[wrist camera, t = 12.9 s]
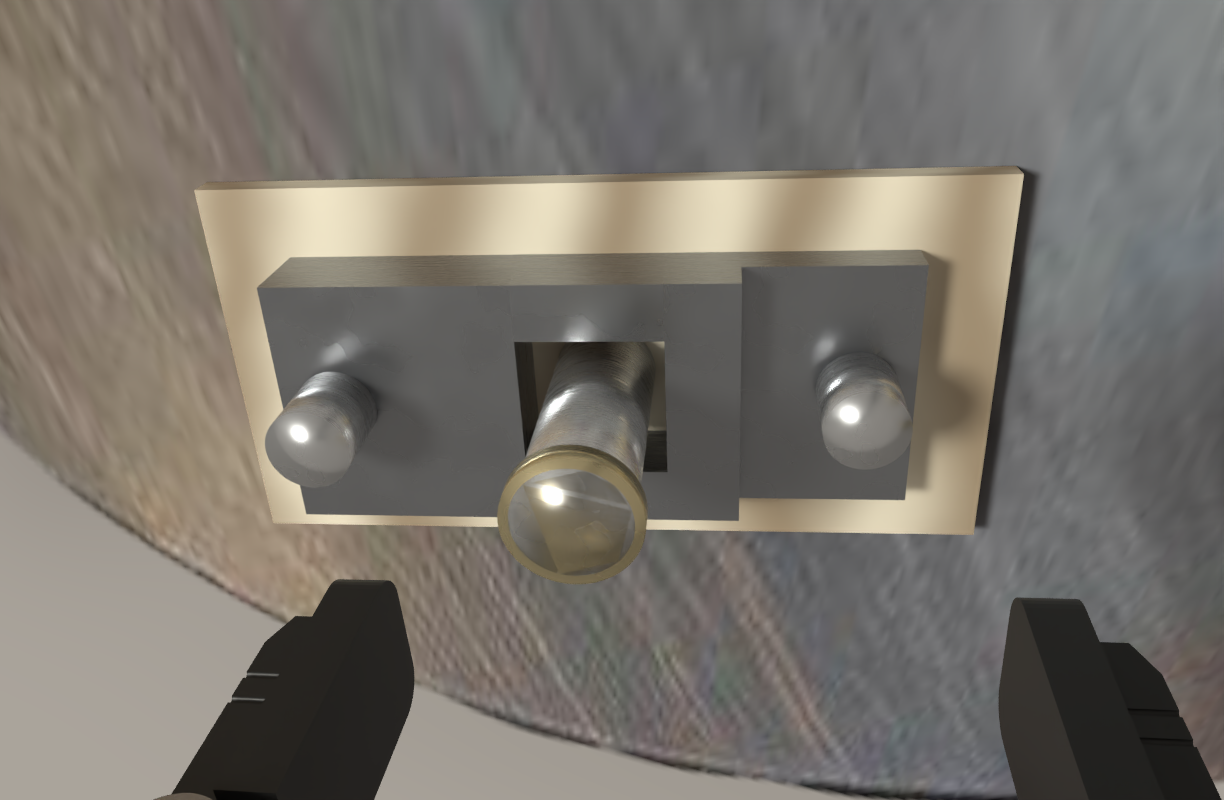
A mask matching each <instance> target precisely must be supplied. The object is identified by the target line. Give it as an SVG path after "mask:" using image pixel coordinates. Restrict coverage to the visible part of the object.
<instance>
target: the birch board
mask: <svg viewBox="0 0 1224 800" xmlns="http://www.w3.org/2000/svg"><path fill="white" fill-rule="evenodd" d="M1023 178H1024V174H1023V173H1022V172H1021V171H1020V169H1019V168H1018V167H1017V166H993V167H944V168H894V169H845V170H796V171H747V172H697V173H648V174H599V175H550V176H500V177H451V178H402V179H353V180H303V181H254V182H207V183H205V184H204V185H202V186H200V187H199V188H197V189H196V190H194V191H195V195H196V200H197V204H198V208H199V212H200V216H201V221H202V225H203V229H204V233H205V237H206V242H207V246H208V250H209V254H210V259H211V263H212V267H213V271H214V275H215V280H216V284H217V288H218V292H219V296H220V301H221V305H222V309H223V313H224V317H225V322H226V326H227V330H228V334H229V338H230V343H231V347H232V351H233V355H234V359H235V364H236V368H237V372H238V376H239V380H240V385H241V389H242V393H243V397H244V401H245V406H246V410H247V414H248V418H249V422H250V427H251V431H252V435H253V439H254V443H255V448H256V452H257V456H258V460H259V464H260V469H261V473H262V477H263V481H264V486H265V490H266V494H267V498H268V502H269V507H270V511H271V515H272V519H273V523H295V524H356V525H417V526H477V527H498V523H497V517H449V516H385V515H320V514H306V511H305V506H304V502H303V497H302V493H301V488H300V485H298V484H296V483H293V482H291V481H289V480H288V479H286V478H285V477H283V476H282V475H281V474H280V473H279V472H278V471H277V470H276V469H275V468H274V467H273V465H272V464H271V462H270V461H269V459H268V456H267V453H266V450H265V436H266V433H267V431H268V429H269V427H270V426H271V424H272V423H273V422H274V421H275V419H276V418H277V417H278V416H279V414H280V413H281V412H282V411H283V406H282V401H281V397H280V392H279V388H278V383H277V378H276V374H275V369H274V365H273V360H272V356H271V351H270V347H269V342H268V337H267V333H266V328H265V324H264V319H263V315H262V310H261V305H260V301H259V296H258V292H257V287H258V286H259V285H260V284H261V283H262V282H264V281H265V280H266V279H267V278H268V277H269V276H270V275H271V274H272V273H273V272H275V271H276V270H277V269H278V268H279V267H280V266H281V265H282V264H283V263H284V262H286V261H287V260H288V259H289V258H290V257H352V256H435V255H518V254H600V253H683V252H766V251H849V250H921V251H922V253H923V255H924V257H925V259H926V261H927V262H928V264H929V268H928V278H927V288H926V298H925V308H924V318H923V328H922V337H921V347H920V357H919V367H918V377H917V387H916V397H915V406H914V416H913V433H912V438H911V446H910V456H909V466H908V475H907V485H906V495H905V500H853V499H777V498H739V521H707V520H647V525H646V529H659V530H719V531H780V532H840V533H901V534H961V535H973V534H974V527H975V519H976V512H977V505H978V498H979V491H980V484H981V477H982V470H983V463H984V455H985V448H986V441H987V434H988V427H989V420H990V413H991V406H992V398H993V391H994V384H995V377H996V370H997V363H998V356H999V349H1000V341H1001V334H1002V327H1003V320H1004V313H1005V306H1006V299H1007V292H1008V285H1009V277H1010V270H1011V263H1012V256H1013V249H1014V242H1015V235H1016V228H1017V220H1018V213H1019V206H1020V199H1021V192H1022V185H1023ZM565 343H566V342H532V347H533V358H534V369H535V381H536V392H537V403H538V414H539V415H540V412H541V409H542V406H543V403H544V400H545V397H546V394H547V391H548V388H549V385H550V382H551V379H552V376H553V373H554V370H555V367H556V364H557V361H558V358H559V355H560V352H561V350H562V347H563V346H564V344H565ZM645 343H646V345H647V346H648V347H649V349H650V351H651V353H652V355H653V358H654V362H655V369H656V370H655V381H654V389H653V396H652V404H651V412H650V420H649V427H648V430H666V390H665V349H664V342H645Z"/></svg>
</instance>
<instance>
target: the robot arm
mask: <svg viewBox="0 0 1224 800" xmlns="http://www.w3.org/2000/svg"><path fill="white" fill-rule="evenodd" d="M413 690H414V667H413V661H412V657H411V652H410V647H409V643H408V638H407V634H406V629H405V625H404V620H403V615H402V611H401V606H400V602H399V597H398V593H397V590H396V587H395V585H394V584H393V583H392V582H391V581H386V580H344V579H339V580H335V581H334V582H333V583H332V584H331V585H330V587H329V588H328V590H327V592H326V593H325V595H324V597H323V599H322V600H321V602H320V604H319V606H318V607H317V609H316V611H315V613H314V614H313V616H312V617H307V616H295V617H294V618H293V619H292V620H291V621H289V622H288V623H287V624H286V625H285V626H283V627H282V628H281V629H280V630H279V631H278V632H276V633H275V634H274V635H273V636H272V637H271V638H269V639H268V640H267V641H266V642H265V643H264V645H263V647H262V648H261V650H260V651H259V653H258V655H257V656H256V658H255V659H254V661H253V663H252V664H251V666H250V668H249V669H248V671H247V677H246V678H243V679H242V681H241V682H240V684H239V685H238V687H237V689H236V690H235V692H234V694H233V695H232V701H231V703H227V705H226V706H225V708H224V710H223V711H222V713H221V715H220V716H219V718H218V719H217V721H216V723H215V724H214V726H213V728H212V729H211V731H210V732H209V734H208V736H207V737H206V739H205V741H204V742H203V744H202V746H201V747H200V749H199V750H198V752H197V754H196V755H195V757H194V759H193V760H192V762H191V763H190V765H189V767H188V768H187V770H186V771H185V773H184V775H183V776H182V778H181V780H180V781H179V783H178V785H177V786H176V788H175V789H174V791H173V793H172V794H171V795H167V796H163V797H160V798H157V799H154V800H374V798H375V796H376V793H377V791H378V789H379V786H380V784H381V781H382V779H383V776H384V774H385V771H386V769H387V766H388V764H389V761H390V759H391V756H392V754H393V751H394V749H395V746H396V744H397V741H398V739H399V736H400V733H401V731H402V729H403V726H404V724H405V721H406V719H407V716H408V714H409V711H410V707H411V703H412V698H413V692H414V691H413ZM999 720H1000V729H1001V735H1002V740H1003V744H1004V748H1005V752H1006V755H1007V759H1008V763H1009V767H1010V770H1011V774H1012V778H1013V782H1014V786H1015V789H1016V793H1017V797H1018V800H1221V798H1220V796H1219V793H1218V791H1217V789H1216V787H1215V785H1214V783H1213V781H1212V779H1211V777H1210V774H1209V772H1208V770H1207V768H1206V766H1205V764H1204V762H1203V760H1202V758H1201V756H1200V753H1199V751H1198V749H1197V747H1194V746H1193V739H1192V737H1191V734H1190V732H1189V730H1188V728H1187V726H1186V724H1185V722H1184V720H1183V718H1182V717H1179V709H1178V707H1177V705H1176V703H1175V701H1174V699H1173V697H1172V694H1171V692H1170V690H1169V688H1168V686H1167V684H1166V682H1165V680H1164V678H1163V676H1162V674H1161V673H1160V672H1159V671H1158V670H1157V669H1156V668H1155V667H1153V666H1152V665H1151V664H1150V663H1149V662H1148V661H1147V660H1146V659H1145V658H1144V657H1143V656H1142V655H1141V654H1140V653H1139V652H1138V651H1137V650H1136V649H1135V648H1134V647H1132V646H1131V645H1130V644H1129V643H1108V642H1099V640H1098V637H1097V635H1096V632H1095V630H1094V628H1093V625H1092V623H1091V620H1090V618H1089V616H1088V613H1087V611H1086V609H1085V606H1084V605H1083V603H1082V602H1081V601H1080V600H1078V599H1053V598H1015V599H1014V600H1013V603H1012V606H1011V610H1010V617H1009V624H1008V631H1007V638H1006V645H1005V652H1004V659H1003V666H1002V673H1001V680H1000V687H999Z"/></svg>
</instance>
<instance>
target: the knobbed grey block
mask: <svg viewBox="0 0 1224 800" xmlns="http://www.w3.org/2000/svg"><path fill="white" fill-rule="evenodd" d="M928 268H929V264H928V262H927V261H926V259H925V257H924V255H923V253H922V251H921V250H849V251H766V252H683V253H600V254H518V255H435V256H352V257H290V258H289V259H288V260H287V261H286V262H284V263H283V264H282V265H281V266H280V267H279V268H278V269H277V270H276V271H275V272H273V273H272V274H271V275H270V276H269V277H268V278H267V279H266V280H265V281H264V282H262V283H261V284H260V285H259V286H258V287H257V292H258V296H259V301H260V305H261V310H262V315H263V319H264V324H265V328H266V333H267V337H268V342H269V347H270V351H271V356H272V360H273V365H274V369H275V374H276V378H277V383H278V388H279V392H280V397H281V401H282V406H283V411H282V412H281V413H280V414H279V416H278V417H277V418H276V419H275V421H274V422H273V423H272V424H271V426H270V427H269V429H268V431H267V433H266V436H265V450H266V453H267V456H268V459H269V461H270V462H271V464H272V465H273V467H274V468H275V469H276V470H277V471H278V472H279V473H280V474H281V475H282V476H283V477H285V478H286V479H288V480H289V481H291V482H293V483H296V484H298V485H300V488H301V493H302V497H303V502H304V506H305V511H306V514H320V515H385V516H449V517H497V512H498V505H499V501H500V498H501V495H502V492H503V490H504V487H505V484H506V482H507V479H508V477H509V475H510V474H511V472H512V471H513V469H514V468H515V467H516V466H517V465H518V464H519V463H520V462H521V461H522V460H524V459H525V457H526V454H527V451H528V448H529V445H530V442H531V439H532V436H533V433H534V430H535V427H536V424H537V421H538V418H539V414H538V403H537V392H536V381H535V369H534V358H533V347H532V342H664V349H665V390H666V430H648V435H647V443H646V450H645V458H644V466H643V474H642V481H641V485H642V488H643V490H644V492H645V496H646V500H647V506H648V516H647V520H707V521H739V498H777V499H853V500H905V495H906V485H907V475H908V466H909V456H910V446H911V438H912V433H913V416H914V406H915V397H916V387H917V377H918V367H919V357H920V347H921V337H922V328H923V318H924V308H925V298H926V288H927V278H928Z"/></svg>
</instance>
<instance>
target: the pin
mask: <svg viewBox="0 0 1224 800" xmlns="http://www.w3.org/2000/svg"><path fill="white" fill-rule="evenodd" d="M655 370H656V369H655V362H654V358H653V355H652V353H651V351H650V349H649V347H648V346H647V345H646V343H645V342H566V343H565V344H564V346H563V347H562V350H561V352H560V355H559V358H558V361H557V364H556V367H555V370H554V373H553V376H552V379H551V382H550V385H549V388H548V391H547V394H546V397H545V400H544V403H543V406H542V409H541V412H540V415H539V418H538V421H537V424H536V427H535V430H534V433H533V436H532V439H531V442H530V445H529V448H528V451H527V454H526V457H525V459H524V460H522V461H521V462H520V463H519V464H518V465H517V466H516V467H515V468H514V469H513V471H512V472H511V474H510V475H509V477H508V479H507V482H506V484H505V487H504V490H503V492H502V495H501V498H500V501H499V505H498V512H497V523H498V528H499V532H500V535H501V538H502V540H503V542H504V544H505V546H506V547H507V549H508V550H509V552H510V553H511V554H512V555H513V556H514V558H515V559H516V560H517V561H518V562H520V563H521V564H522V565H523V566H524V567H526V568H527V569H529V570H530V571H532V572H534V573H535V574H537V575H539V576H541V577H544V578H546V579H549V580H553V581H556V582H561V583H567V584H588V583H595V582H599V581H602V580H605V579H608V578H610V577H612V576H614V575H616V574H618V573H620V572H621V571H622V570H624V569H625V568H626V567H628V566H629V565H630V564H631V563H632V562H633V560H634V559H635V558H636V556H637V555H638V553H639V552H640V550H641V548H642V545H643V542H644V539H645V534H646V525H647V516H648V506H647V500H646V496H645V492H644V490H643V488H642V485H641V481H642V474H643V466H644V458H645V450H646V443H647V435H648V427H649V420H650V412H651V404H652V396H653V389H654V381H655Z"/></svg>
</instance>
